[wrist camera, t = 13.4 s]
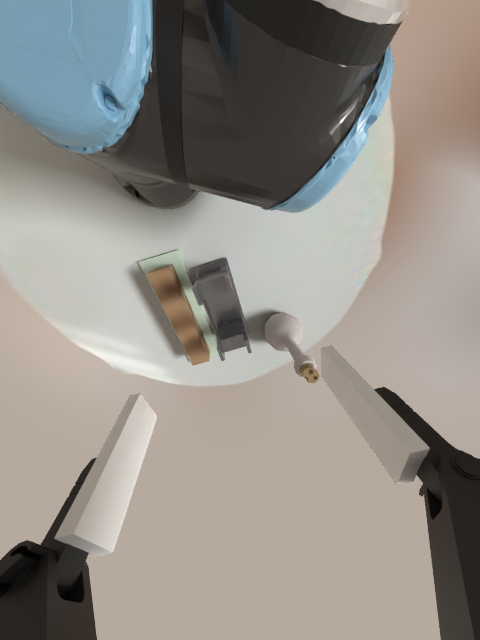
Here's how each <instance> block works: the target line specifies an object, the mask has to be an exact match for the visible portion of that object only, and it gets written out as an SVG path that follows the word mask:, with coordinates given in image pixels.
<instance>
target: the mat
mask: <svg viewBox="0 0 480 640" xmlns="http://www.w3.org/2000/svg"><path fill="white" fill-rule="evenodd" d="M138 263H139V265H140V267H141V269H142V271H143V273H144V274H145V276H146V278H147V280H148V282H149V284H150V286H151V288H152V290H153V292H154V294H155V295H156V293H155V291H154V289H153V287H152V285H151V283H150V281H149V279H148V277H147V275H146V274H147V273H149V272H150V271H152V270H154V269H157V268H161V267H164V266H167V265H171V264H173V266H174V268H175V271H176V273H177V275H178V278H179V280H180V282H181V285H182V287H183V289H184V291H185V294H186V296H187V298H188V301H189V303H190V305H191V308H192V310H193V312H194V315H195V317H196V319H197V322H198V324H199V326H200V329H201V331H202V333H203V335H204V338H205V340H206V342H207V345H208V347H209V349H210V357H212V356H216V355H219V353H218V351H217V344H216V341H215V339H214V336H213V334H212V331H211V329H210V326H209V324H208V322H207V319H206V317H205V314H204V312H203V309H202V307H201V305H200V306H199V305H198V303H197V300H196V298H195V295H194V293H193V291H192V287H193V285H192V282H191V280H190V278H189V275H188V273H187V270H186V268H185V265H184V263H183V260H182V258H181V256H180V253H179V251H178V250H176V251H173V252H169V253H166V254H163V255H160V256H156V257H153V258H150V259H147V260H144V261H140V262H138ZM156 297H157V299H158V301H159V303H160V305H161V307H162V309H163V311H164V313H165V315H166V316H167V314H166V312H165V310H164V308H163V306H162V304H161V302H160V300H159V298H158V296H157V295H156ZM167 318H168V316H167ZM168 320H169V318H168ZM169 322H170V320H169ZM170 324H171V322H170ZM171 326H172V324H171ZM172 328H173V326H172ZM173 330H174V328H173ZM174 332H175V330H174ZM175 334H176V332H175ZM176 336H177V334H176ZM177 338H178V339H179V337H178V336H177ZM179 341H180V339H179ZM180 343H181V341H180ZM181 345H182V343H181ZM182 347H183V345H182ZM183 349H184V347H183ZM184 351H185V349H184ZM185 353H186V351H185ZM186 355H187V353H186ZM187 357H188V355H187ZM188 359H189V357H188ZM189 360H190V359H189ZM190 362H191V361H190Z"/></svg>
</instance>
